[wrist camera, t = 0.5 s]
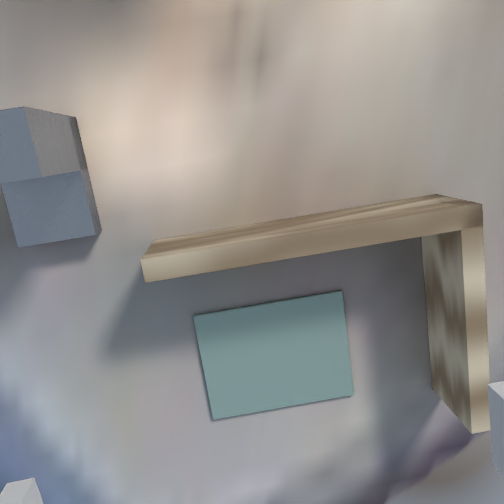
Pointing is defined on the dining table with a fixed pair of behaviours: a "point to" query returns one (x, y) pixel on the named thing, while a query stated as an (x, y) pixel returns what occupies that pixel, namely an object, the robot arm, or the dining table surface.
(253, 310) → the mat
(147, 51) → the dining table surface
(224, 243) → the wooden corner frame
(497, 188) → the dining table surface
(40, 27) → the dining table surface
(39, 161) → the angle block
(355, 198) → the dining table surface
